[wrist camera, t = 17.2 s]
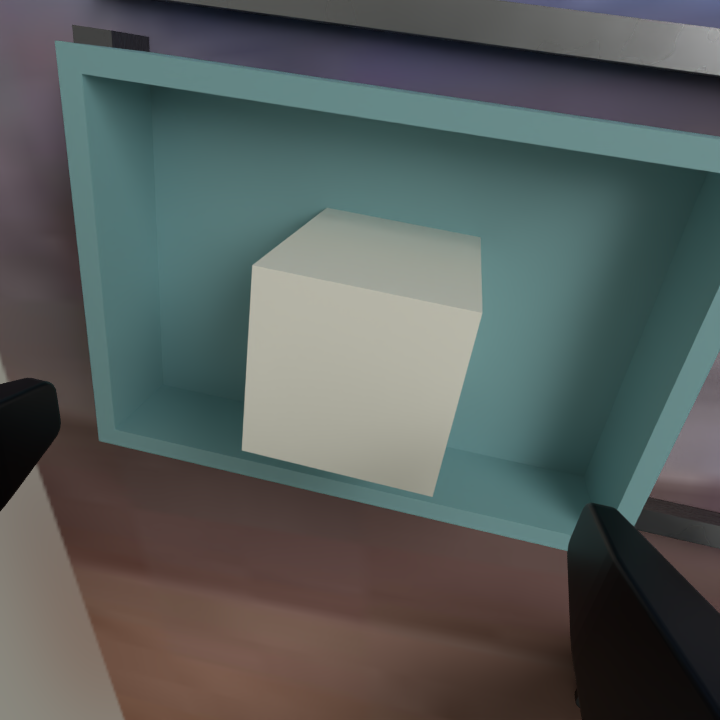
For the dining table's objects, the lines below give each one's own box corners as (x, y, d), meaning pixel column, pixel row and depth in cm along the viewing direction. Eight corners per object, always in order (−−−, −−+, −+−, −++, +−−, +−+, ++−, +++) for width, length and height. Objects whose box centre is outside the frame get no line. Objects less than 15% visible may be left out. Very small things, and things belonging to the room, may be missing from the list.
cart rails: (859, 566, 21) (895, 611, 19) (138, 404, 24) (111, 429, 22) (1221, 98, 13) (1337, 98, 11) (108, -46, 16) (63, -62, 15)
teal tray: (584, 455, 20) (616, 562, 16) (178, 368, 22) (98, 440, 18) (712, 135, 15) (815, 153, 11) (169, 54, 17) (54, 40, 12)
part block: (445, 374, 18) (432, 497, 12) (311, 345, 18) (241, 450, 13) (480, 237, 15) (482, 312, 10) (327, 207, 16) (252, 264, 11)
